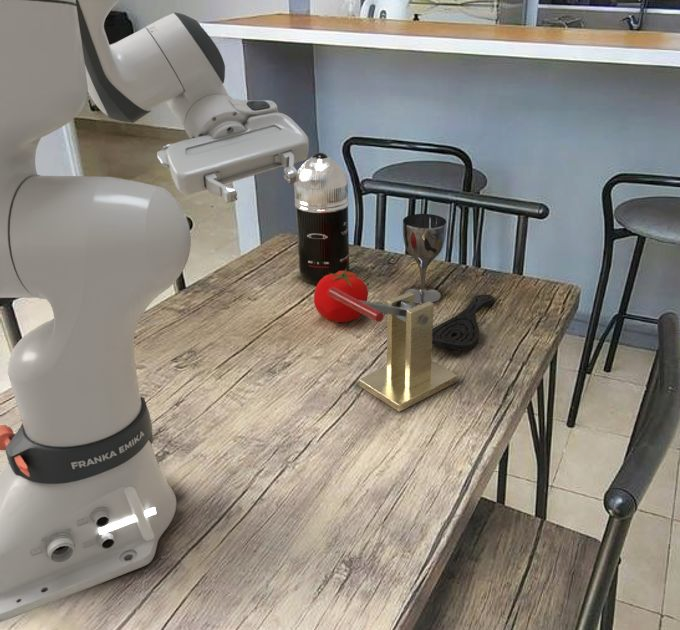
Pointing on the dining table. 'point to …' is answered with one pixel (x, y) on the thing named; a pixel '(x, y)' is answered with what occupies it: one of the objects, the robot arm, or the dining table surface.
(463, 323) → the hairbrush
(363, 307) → the lever
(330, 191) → the black silver domed canister
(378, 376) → the bracket
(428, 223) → the metal goblet
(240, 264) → the dining table surface
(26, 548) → the robot arm
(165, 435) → the dining table surface
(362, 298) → the tomato
